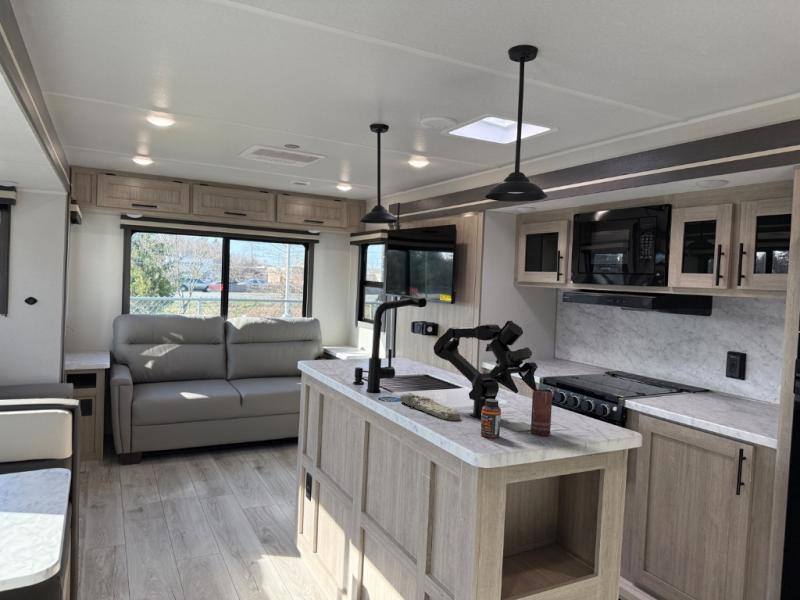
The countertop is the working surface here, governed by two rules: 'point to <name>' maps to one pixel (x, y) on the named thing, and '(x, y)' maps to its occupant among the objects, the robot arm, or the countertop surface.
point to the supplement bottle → (490, 419)
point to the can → (541, 412)
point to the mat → (517, 426)
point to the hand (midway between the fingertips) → (526, 391)
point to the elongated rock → (429, 406)
